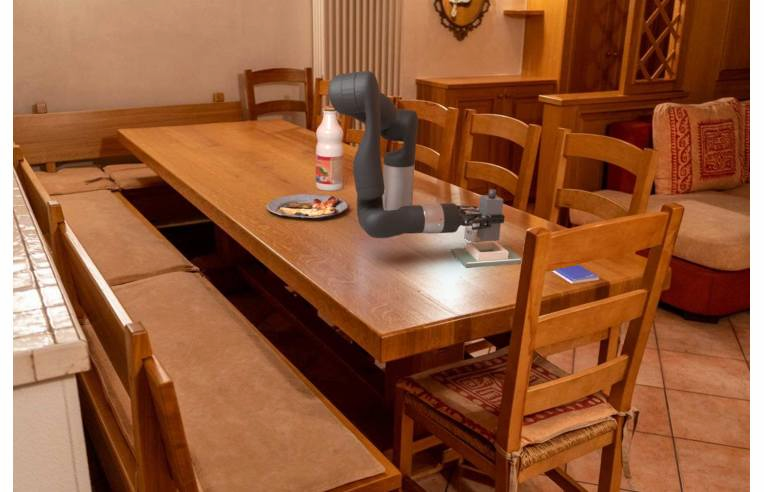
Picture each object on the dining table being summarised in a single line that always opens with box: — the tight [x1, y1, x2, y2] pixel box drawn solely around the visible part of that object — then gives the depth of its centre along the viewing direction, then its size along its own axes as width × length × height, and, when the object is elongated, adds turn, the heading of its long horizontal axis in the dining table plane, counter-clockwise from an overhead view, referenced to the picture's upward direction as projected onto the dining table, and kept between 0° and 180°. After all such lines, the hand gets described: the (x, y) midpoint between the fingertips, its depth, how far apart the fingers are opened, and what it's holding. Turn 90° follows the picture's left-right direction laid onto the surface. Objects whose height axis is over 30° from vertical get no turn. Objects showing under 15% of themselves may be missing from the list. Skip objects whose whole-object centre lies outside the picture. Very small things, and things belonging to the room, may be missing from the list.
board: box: [449, 241, 523, 269], centre depth 182 cm, size 16×11×3 cm
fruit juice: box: [315, 105, 344, 192], centre depth 235 cm, size 9×9×28 cm
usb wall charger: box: [463, 226, 482, 243], centre depth 195 cm, size 4×7×4 cm, turn 130°
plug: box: [477, 188, 504, 242], centre depth 178 cm, size 5×4×13 cm
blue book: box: [552, 264, 600, 285], centre depth 175 cm, size 2×8×12 cm
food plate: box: [266, 193, 350, 219], centre depth 215 cm, size 25×23×4 cm
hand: (499, 215), depth 179 cm, fingers closed on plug, 4 cm apart
